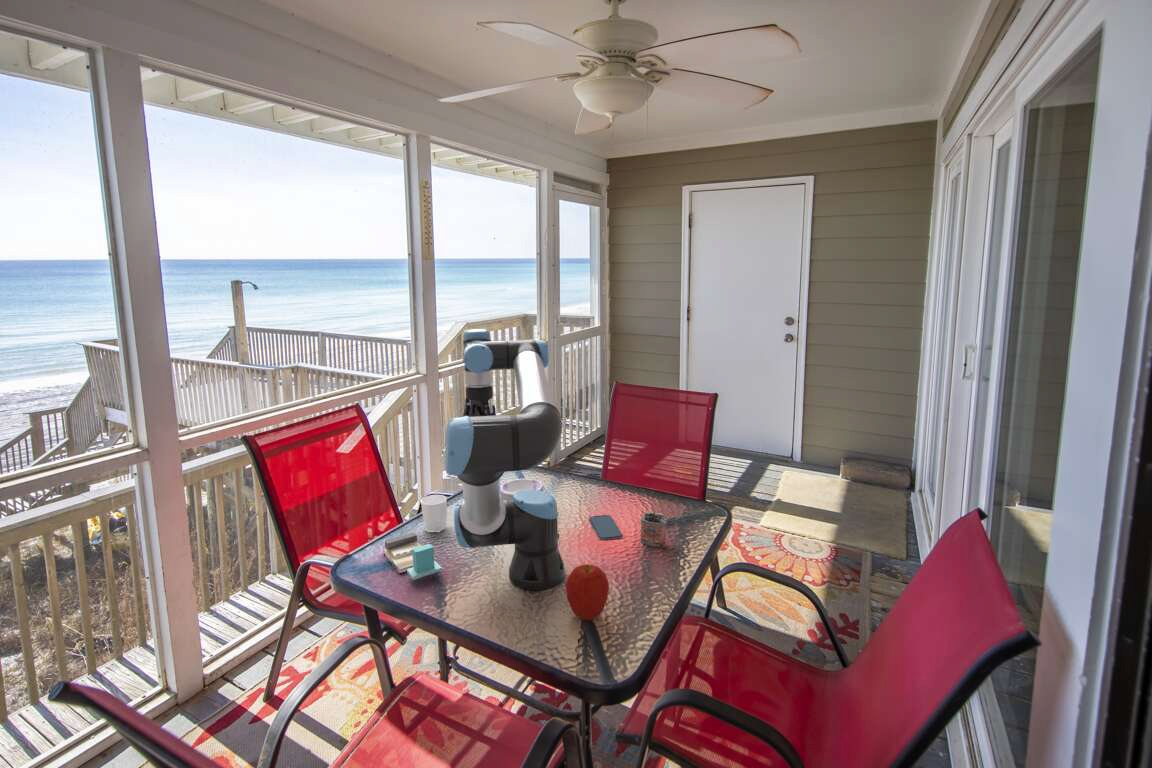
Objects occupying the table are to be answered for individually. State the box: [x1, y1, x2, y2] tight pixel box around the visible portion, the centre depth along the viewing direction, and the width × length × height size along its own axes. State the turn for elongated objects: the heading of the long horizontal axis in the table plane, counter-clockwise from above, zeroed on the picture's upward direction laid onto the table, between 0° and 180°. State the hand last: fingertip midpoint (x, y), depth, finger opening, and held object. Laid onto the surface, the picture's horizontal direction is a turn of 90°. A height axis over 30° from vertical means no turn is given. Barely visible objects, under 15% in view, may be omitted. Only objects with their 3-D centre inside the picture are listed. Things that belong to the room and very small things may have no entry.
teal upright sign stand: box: [406, 543, 443, 580], centre depth 159 cm, size 5×8×7 cm, turn 125°
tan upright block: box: [639, 510, 667, 548], centre depth 177 cm, size 8×3×10 cm, turn 62°
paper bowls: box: [500, 478, 545, 500], centre depth 204 cm, size 15×15×8 cm
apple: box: [565, 563, 610, 621], centre depth 140 cm, size 10×10×14 cm
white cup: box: [420, 494, 448, 532], centre depth 188 cm, size 8×8×10 cm
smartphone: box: [588, 514, 623, 541], centre depth 188 cm, size 8×2×15 cm
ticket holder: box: [382, 532, 422, 570], centre depth 169 cm, size 14×10×4 cm
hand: (482, 457), depth 169 cm, fingers open, 13 cm apart
